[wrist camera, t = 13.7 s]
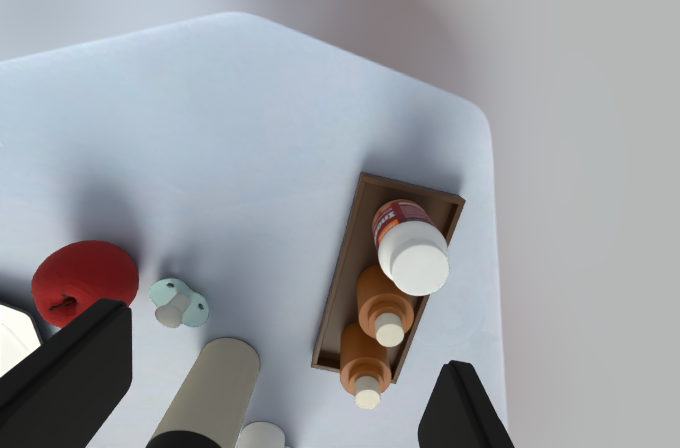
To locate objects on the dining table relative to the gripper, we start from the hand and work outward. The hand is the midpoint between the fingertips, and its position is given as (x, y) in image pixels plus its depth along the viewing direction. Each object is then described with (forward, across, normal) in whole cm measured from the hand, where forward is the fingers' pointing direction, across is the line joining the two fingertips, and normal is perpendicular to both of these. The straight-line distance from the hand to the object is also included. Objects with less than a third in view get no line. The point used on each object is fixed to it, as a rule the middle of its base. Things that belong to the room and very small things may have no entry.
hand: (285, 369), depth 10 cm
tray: (+27, -8, +11) cm, 31 cm away
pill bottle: (+27, -9, +3) cm, 29 cm away
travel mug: (+27, +8, +27) cm, 39 cm away
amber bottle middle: (+27, -8, +11) cm, 30 cm away
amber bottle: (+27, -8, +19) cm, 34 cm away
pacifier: (+27, +15, +19) cm, 36 cm away
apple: (+27, +23, +16) cm, 39 cm away
